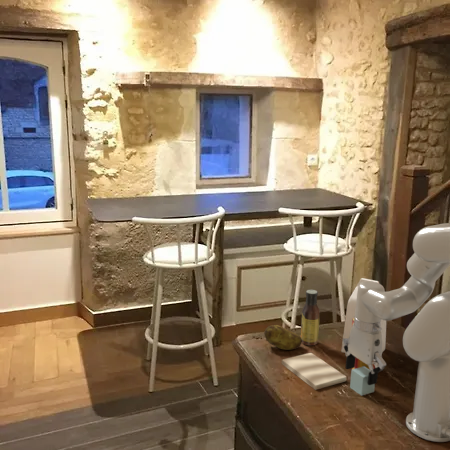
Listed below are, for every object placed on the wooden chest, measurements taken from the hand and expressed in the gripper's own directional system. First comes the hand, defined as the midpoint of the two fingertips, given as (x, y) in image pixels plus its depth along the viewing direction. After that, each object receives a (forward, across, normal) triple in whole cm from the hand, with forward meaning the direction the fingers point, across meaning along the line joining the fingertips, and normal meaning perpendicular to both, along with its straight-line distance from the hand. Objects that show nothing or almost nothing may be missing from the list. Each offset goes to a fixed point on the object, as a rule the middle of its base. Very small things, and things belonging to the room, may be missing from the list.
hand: (360, 375), depth 156 cm
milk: (+5, +19, -19) cm, 27 cm away
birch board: (+5, +14, +7) cm, 16 cm away
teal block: (+4, -1, 0) cm, 4 cm away
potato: (+6, +33, +6) cm, 34 cm away
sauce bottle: (+6, +32, -5) cm, 33 cm away
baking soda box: (+5, +9, -9) cm, 14 cm away
